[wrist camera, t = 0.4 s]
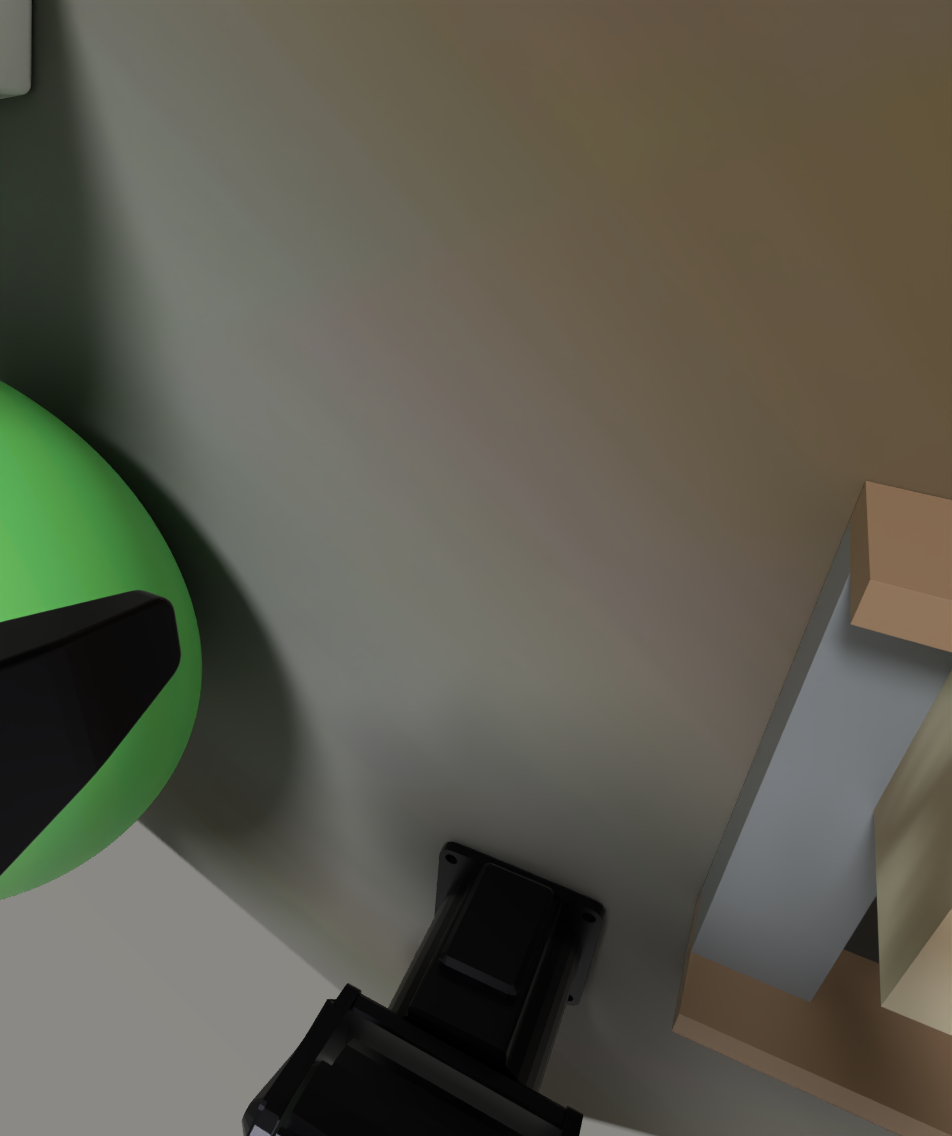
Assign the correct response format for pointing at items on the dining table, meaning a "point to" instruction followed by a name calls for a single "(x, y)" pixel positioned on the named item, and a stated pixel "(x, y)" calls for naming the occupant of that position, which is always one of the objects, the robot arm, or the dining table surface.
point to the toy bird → (79, 574)
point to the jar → (15, 47)
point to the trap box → (832, 837)
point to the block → (918, 874)
